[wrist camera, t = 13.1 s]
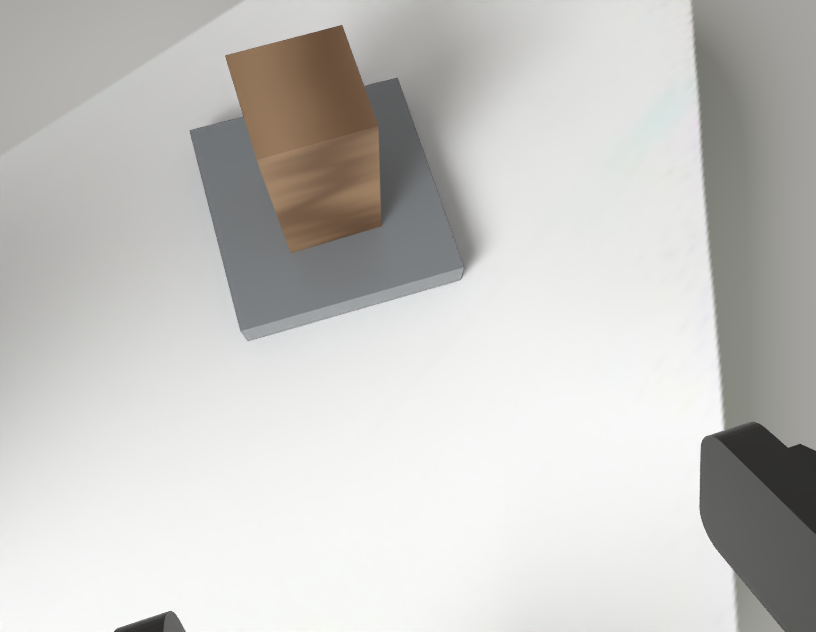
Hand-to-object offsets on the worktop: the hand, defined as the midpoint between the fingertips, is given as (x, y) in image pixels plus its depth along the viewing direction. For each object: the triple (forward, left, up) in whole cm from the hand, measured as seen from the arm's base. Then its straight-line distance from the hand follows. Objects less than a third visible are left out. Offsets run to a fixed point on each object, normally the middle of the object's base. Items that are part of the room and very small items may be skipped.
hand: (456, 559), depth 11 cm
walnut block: (+1, +18, -24) cm, 30 cm away
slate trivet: (+1, +18, -26) cm, 32 cm away
